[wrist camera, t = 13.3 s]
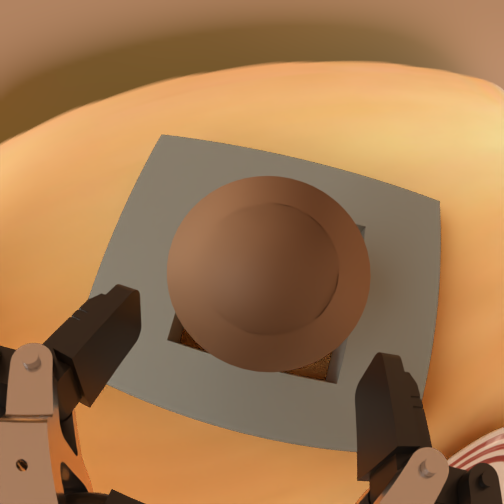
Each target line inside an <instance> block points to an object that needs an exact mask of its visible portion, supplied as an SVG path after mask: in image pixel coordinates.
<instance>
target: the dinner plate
mask: <svg viewBox="0 0 504 504" xmlns="http://www.w3.org/2000/svg"><path fill="white" fill-rule="evenodd" d="M447 462H448V465H449V466H451V467H455V468H459V469H463V470H467V471H468V470H470V469H471V468H472V467H474V466H475V465H476V464H478V463H487V464H490V465H491V466H492V467H493V468H494V469H495V470H496V472H497V474H498V477H499V483H500V489H501V496H502V503H503V504H504V427H502V428H499V429H496V430H494V431H492V432H490V433H488V434H486V435H484V436H482V437H481V438H479V439H477V440H475V441H474V442H472V443H470V444H469V445H467V446H466V447H465V448H463V449H461V450H460V451H458V452H457V453H456V454H454V455H453V456H452V457H450V458H449V459H448V460H447Z"/></svg>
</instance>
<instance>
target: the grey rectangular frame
mask: <svg viewBox="0 0 504 504" xmlns="http://www.w3.org/2000/svg"><path fill="white" fill-rule="evenodd" d="M256 176H279V177H285V178H291V179H295V180H298V181H301V182H304V183H307V184H309V185H311V186H314V187H316V188H317V189H319V190H321V191H323V192H324V193H326V194H327V195H329V196H330V197H331V198H333V199H334V200H335V201H336V202H337V203H339V204H340V205H341V206H342V207H343V208H344V209H345V211H346V212H347V213H348V214H349V215H350V217H351V218H352V219H353V221H354V222H355V224H356V225H357V227H358V229H359V231H360V233H361V235H362V237H363V239H364V242H365V245H366V248H367V251H368V256H369V261H370V274H371V278H370V290H369V294H368V299H367V303H366V305H365V308H364V311H363V314H362V316H361V317H360V319H359V321H358V323H357V325H356V327H355V328H354V329H353V331H352V332H351V333H350V335H349V336H348V337H347V338H346V339H345V340H344V341H343V342H342V343H341V344H340V346H339V347H337V348H336V349H335V350H333V351H332V355H331V360H330V364H329V368H328V372H327V376H326V380H320V379H315V378H310V377H305V376H300V375H295V374H291V373H286V372H256V371H251V370H246V369H242V368H239V367H236V366H233V365H230V364H228V363H226V362H224V361H222V360H220V359H218V358H216V357H214V356H213V355H211V354H210V353H209V352H207V351H204V350H201V349H197V348H194V347H191V346H188V345H185V344H182V343H180V339H181V336H182V333H183V329H184V327H183V325H182V324H181V322H180V320H179V319H178V317H177V315H176V312H175V310H174V308H173V305H172V302H171V299H170V295H169V291H168V284H167V262H168V255H169V250H170V247H171V244H172V240H173V238H174V236H175V233H176V231H177V229H178V227H179V226H180V224H181V222H182V221H183V219H184V218H185V216H186V215H187V214H188V213H189V211H190V210H191V209H192V208H193V207H194V206H195V205H196V204H197V203H198V202H199V201H200V200H201V199H203V198H204V197H205V196H207V195H208V194H209V193H211V192H213V191H214V190H216V189H218V188H220V187H221V186H224V185H226V184H228V183H231V182H234V181H237V180H240V179H244V178H250V177H256ZM440 254H441V226H440V201H437V200H435V199H432V198H429V197H427V196H424V195H421V194H418V193H415V192H412V191H409V190H407V189H404V188H401V187H398V186H395V185H391V184H388V183H385V182H382V181H379V180H376V179H372V178H369V177H366V176H362V175H359V174H355V173H352V172H348V171H345V170H341V169H337V168H334V167H330V166H326V165H322V164H318V163H314V162H310V161H306V160H302V159H298V158H294V157H289V156H285V155H280V154H276V153H271V152H266V151H261V150H256V149H251V148H246V147H241V146H235V145H230V144H224V143H218V142H212V141H206V140H199V139H192V138H185V137H178V136H170V135H161V136H160V138H159V140H158V142H157V143H156V145H155V147H154V149H153V151H152V153H151V155H150V156H149V158H148V160H147V162H146V164H145V166H144V168H143V170H142V172H141V174H140V176H139V178H138V180H137V182H136V184H135V186H134V188H133V190H132V192H131V194H130V196H129V198H128V201H127V203H126V205H125V207H124V209H123V212H122V214H121V216H120V218H119V221H118V223H117V225H116V227H115V230H114V232H113V235H112V237H111V239H110V242H109V244H108V247H107V249H106V252H105V254H104V257H103V259H102V262H101V265H100V267H99V270H98V273H97V275H96V278H95V281H94V284H93V287H92V290H91V292H90V295H89V298H88V299H90V298H93V297H95V296H97V295H99V294H101V293H102V294H105V295H106V294H107V293H108V292H109V291H110V290H111V289H112V288H113V287H114V286H115V285H117V284H121V285H124V286H127V287H130V288H133V289H136V290H138V291H139V293H140V305H141V332H140V336H139V338H138V340H137V342H136V343H135V345H134V346H133V347H132V349H131V350H130V351H129V353H128V354H127V356H126V357H125V358H124V360H123V361H122V363H121V364H120V365H119V367H118V368H117V370H116V371H115V372H114V374H113V375H112V377H111V378H110V380H109V381H108V382H107V385H109V386H112V387H114V388H116V389H118V390H120V391H123V392H125V393H127V394H129V395H132V396H134V397H136V398H139V399H141V400H144V401H146V402H148V403H151V404H154V405H156V406H159V407H161V408H164V409H167V410H169V411H172V412H175V413H178V414H181V415H183V416H186V417H189V418H192V419H195V420H199V421H202V422H205V423H208V424H212V425H215V426H218V427H222V428H225V429H229V430H233V431H237V432H240V433H244V434H248V435H253V436H257V437H261V438H266V439H271V440H275V441H280V442H286V443H291V444H297V445H303V446H309V447H316V448H323V449H331V450H340V451H350V452H357V432H356V411H355V392H356V388H357V385H358V383H359V381H360V379H361V378H362V376H363V375H364V373H365V371H366V370H367V368H368V366H369V365H370V363H371V361H372V359H373V358H374V356H375V355H376V354H377V353H378V352H382V353H388V354H394V355H399V356H400V357H401V360H402V363H403V367H404V371H405V372H409V373H410V374H411V376H412V377H413V379H414V380H415V381H416V383H417V385H418V389H419V393H420V396H421V397H420V399H421V400H422V397H423V393H424V389H425V384H426V379H427V374H428V369H429V364H430V358H431V353H432V346H433V340H434V332H435V325H436V316H437V306H438V295H439V280H440Z"/></svg>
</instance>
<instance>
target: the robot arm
mask: <svg viewBox="0 0 504 504" xmlns="http://www.w3.org/2000/svg"><path fill="white" fill-rule="evenodd" d="M140 332H141V305H140V293H139V291H138V290H136V289H133V288H130V287H127V286H124V285H121V284H117V285H115V286H114V287H113V288H112V289H111V290H110V291H109V292H108V293H107V294H106V295H105V294H102V293H101V294H99V295H97V296H95V297H93V298H90V299H88V300H87V301H86V302H85V303H84V304H83V305H82V306H81V307H80V308H79V310H77V311H76V312H75V313H74V314H73V315H72V317H70V318H68V319H67V320H66V321H65V322H64V323H63V324H62V325H61V326H60V327H59V328H58V329H57V330H56V331H55V332H54V333H53V334H52V335H51V336H50V337H49V338H48V339H47V340H46V341H45V342H44V343H43V344H38V343H29V344H26V345H23V346H21V347H20V348H18V349H17V350H14V349H10V348H7V347H3V346H0V504H144V503H142V502H140V501H137V500H135V499H133V498H130V497H128V496H126V495H124V494H121V493H119V492H117V491H115V490H113V489H112V490H111V492H110V494H109V495H108V494H102V493H94V492H93V488H92V485H91V481H90V478H89V475H88V472H87V470H86V468H85V465H84V462H83V459H82V454H81V448H80V442H79V436H78V429H77V422H76V413H75V409H74V408H75V407H76V405H77V404H78V403H79V402H80V403H82V404H84V405H86V406H88V407H91V405H92V404H93V403H94V401H95V400H96V398H97V397H98V395H99V394H100V392H101V391H102V390H103V388H104V387H105V385H106V384H107V382H108V381H109V380H110V378H111V377H112V375H113V374H114V372H115V371H116V370H117V368H118V367H119V365H120V364H121V363H122V361H123V360H124V358H125V357H126V356H127V354H128V353H129V351H130V350H131V349H132V347H133V346H134V345H135V343H136V342H137V340H138V338H139V336H140ZM420 397H421V396H420V393H419V389H418V385H417V383H416V381H415V380H414V379H413V377H412V376H411V374H410V373H409V372H405V371H404V367H403V363H402V360H401V357H400V356H399V355H394V354H388V353H382V352H378V353H377V354H376V355H375V356H374V358H373V359H372V361H371V363H370V365H369V366H368V368H367V370H366V371H365V373H364V375H363V376H362V378H361V379H360V381H359V383H358V385H357V388H356V392H355V411H356V432H357V481H370V488H369V489H367V490H366V491H365V492H364V494H363V495H362V496H361V497H360V498H359V499H358V501H357V502H356V503H355V504H503V503H502V496H501V489H500V483H499V477H498V474H497V472H496V470H495V469H494V468H493V467H492V466H491V465H490V464H487V463H478V464H476V465H475V466H474V467H472V468H471V469H470V470H468V471H467V470H463V469H459V468H455V467H451V466H449V465H448V462H447V460H446V458H445V456H444V455H443V454H442V453H441V452H440V451H438V450H436V449H434V448H432V445H431V440H430V435H429V431H428V426H427V421H426V417H425V413H424V409H422V408H423V404H422V400H421V399H420Z"/></svg>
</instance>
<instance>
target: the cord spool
mask: <svg viewBox="0 0 504 504" xmlns="http://www.w3.org/2000/svg"><path fill="white" fill-rule="evenodd" d="M370 278H371V274H370V261H369V256H368V251H367V248H366V245H365V242H364V239H363V237H362V235H361V233H360V231H359V229H358V227H357V225H356V224H355V222H354V221H353V219H352V218H351V217H350V215H349V214H348V213H347V212H346V211H345V209H344V208H343V207H342V206H341V205H340V204H339V203H337V202H336V201H335V200H334V199H333V198H331V197H330V196H329V195H327V194H326V193H324V192H323V191H321V190H319V189H317V188H316V187H314V186H311V185H309V184H307V183H304V182H301V181H298V180H295V179H291V178H285V177H279V176H256V177H250V178H244V179H240V180H237V181H234V182H231V183H228V184H226V185H224V186H221V187H220V188H218V189H216V190H214V191H213V192H211V193H209V194H208V195H207V196H205V197H204V198H203V199H201V200H200V201H199V202H198V203H197V204H196V205H195V206H194V207H193V208H192V209H191V210H190V211H189V213H188V214H187V215H186V216H185V218H184V219H183V221H182V222H181V224H180V226H179V227H178V229H177V231H176V233H175V236H174V238H173V240H172V244H171V247H170V250H169V255H168V262H167V284H168V291H169V295H170V299H171V302H172V305H173V308H174V310H175V312H176V315H177V317H178V319H179V320H180V322H181V324H182V325H183V327H184V329H185V330H186V331H187V332H188V334H189V335H190V336H191V337H192V338H193V340H194V341H195V342H197V343H198V344H199V345H200V346H201V347H202V348H203V349H204V350H206V351H207V352H209V353H210V354H211V355H213V356H214V357H216V358H218V359H220V360H222V361H224V362H226V363H228V364H230V365H233V366H236V367H239V368H242V369H246V370H251V371H256V372H282V371H289V370H294V369H298V368H302V367H304V366H307V365H309V364H312V363H314V362H316V361H318V360H320V359H322V358H323V357H325V356H327V355H328V354H330V353H331V352H332V351H333V350H335V349H336V348H337V347H339V346H340V344H341V343H342V342H343V341H344V340H345V339H346V338H347V337H348V336H349V335H350V333H351V332H352V331H353V329H354V328H355V327H356V325H357V323H358V321H359V319H360V317H361V316H362V314H363V311H364V308H365V305H366V303H367V299H368V294H369V290H370Z"/></svg>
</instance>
